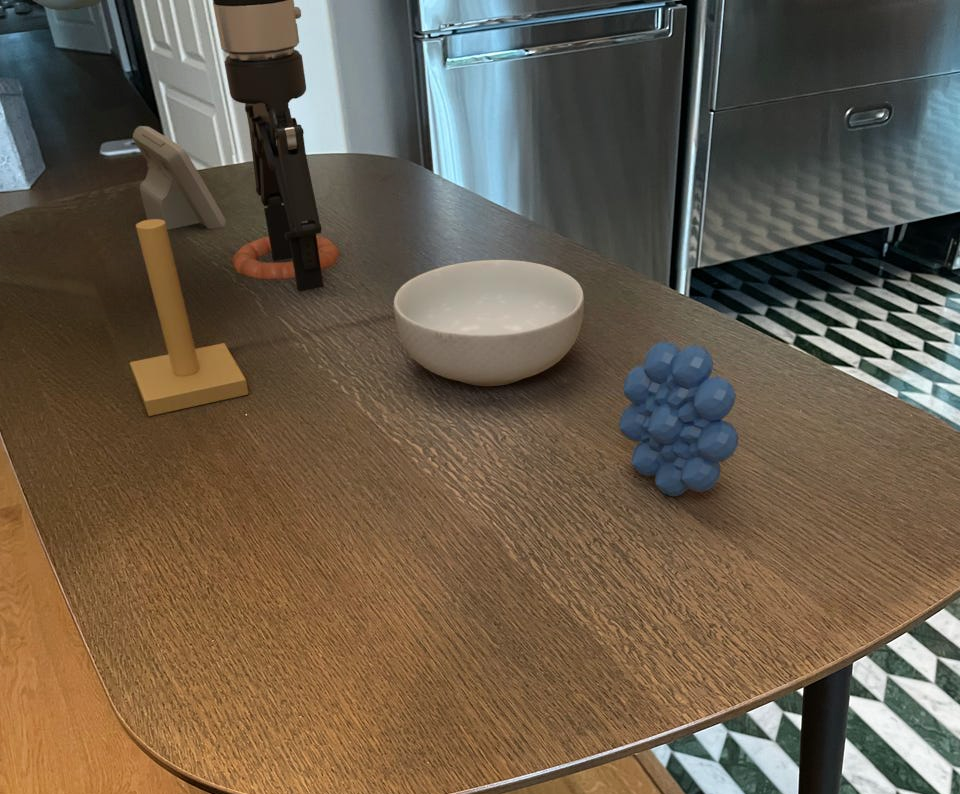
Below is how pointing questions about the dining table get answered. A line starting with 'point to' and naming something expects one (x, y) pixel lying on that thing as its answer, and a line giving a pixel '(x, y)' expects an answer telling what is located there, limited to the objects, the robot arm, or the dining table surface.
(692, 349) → the grapes
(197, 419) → the dining table surface
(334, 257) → the ring
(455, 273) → the cereal bowl
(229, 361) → the peg stand
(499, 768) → the dining table surface
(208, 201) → the digital clock
